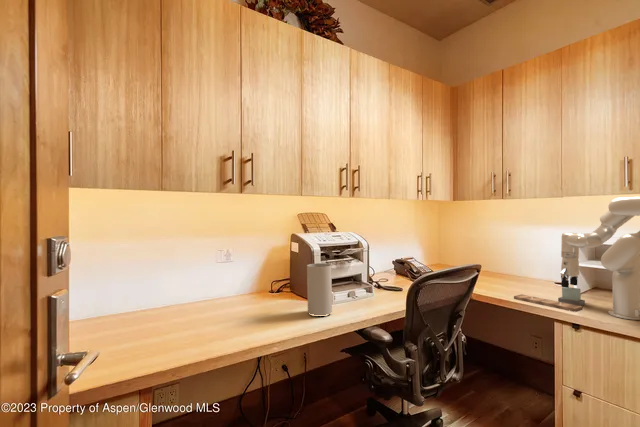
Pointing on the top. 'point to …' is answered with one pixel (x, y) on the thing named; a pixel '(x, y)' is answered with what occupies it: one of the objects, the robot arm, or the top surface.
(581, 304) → the sanding block
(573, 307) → the walnut plank
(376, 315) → the top surface
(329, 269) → the cylinder vase
